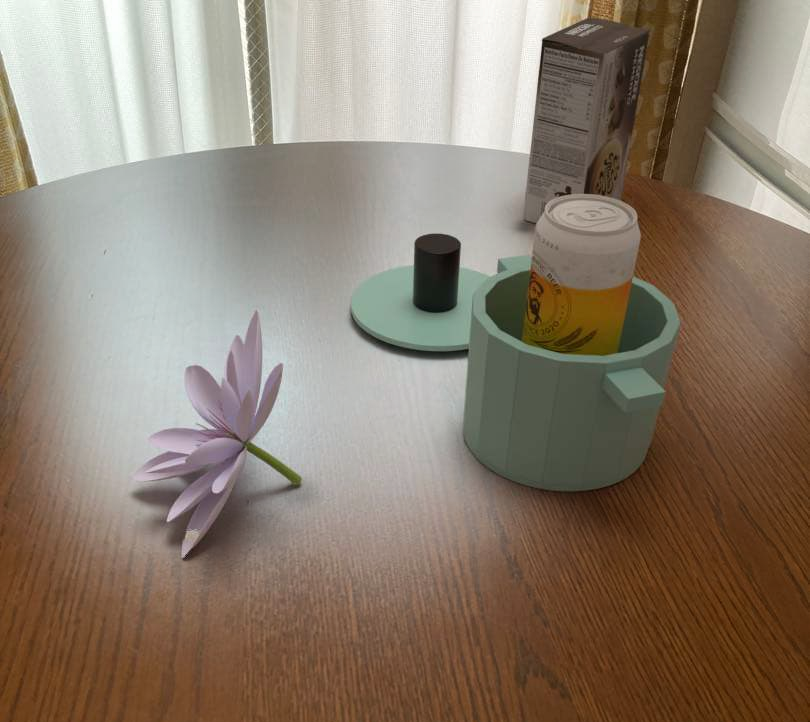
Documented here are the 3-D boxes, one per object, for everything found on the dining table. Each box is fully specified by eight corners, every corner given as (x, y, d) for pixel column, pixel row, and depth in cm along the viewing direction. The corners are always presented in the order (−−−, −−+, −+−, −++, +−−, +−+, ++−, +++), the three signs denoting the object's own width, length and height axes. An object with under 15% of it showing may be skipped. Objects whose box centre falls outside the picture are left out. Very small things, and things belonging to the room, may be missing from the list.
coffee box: (564, 191, 95) (588, 15, 84) (621, 207, 92) (654, 27, 81) (519, 220, 89) (539, 35, 78) (578, 237, 87) (607, 49, 76)
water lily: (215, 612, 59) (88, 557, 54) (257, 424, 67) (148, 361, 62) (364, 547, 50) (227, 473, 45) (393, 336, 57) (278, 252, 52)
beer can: (496, 412, 64) (519, 199, 54) (571, 394, 66) (607, 185, 56) (539, 461, 60) (572, 241, 50) (618, 441, 62) (666, 224, 52)
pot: (576, 353, 71) (596, 235, 65) (706, 495, 59) (747, 366, 52) (423, 380, 68) (428, 258, 61) (526, 536, 55) (546, 403, 49)
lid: (479, 267, 82) (484, 199, 77) (546, 342, 72) (556, 270, 68) (331, 288, 78) (328, 218, 74) (381, 370, 69) (381, 295, 65)
